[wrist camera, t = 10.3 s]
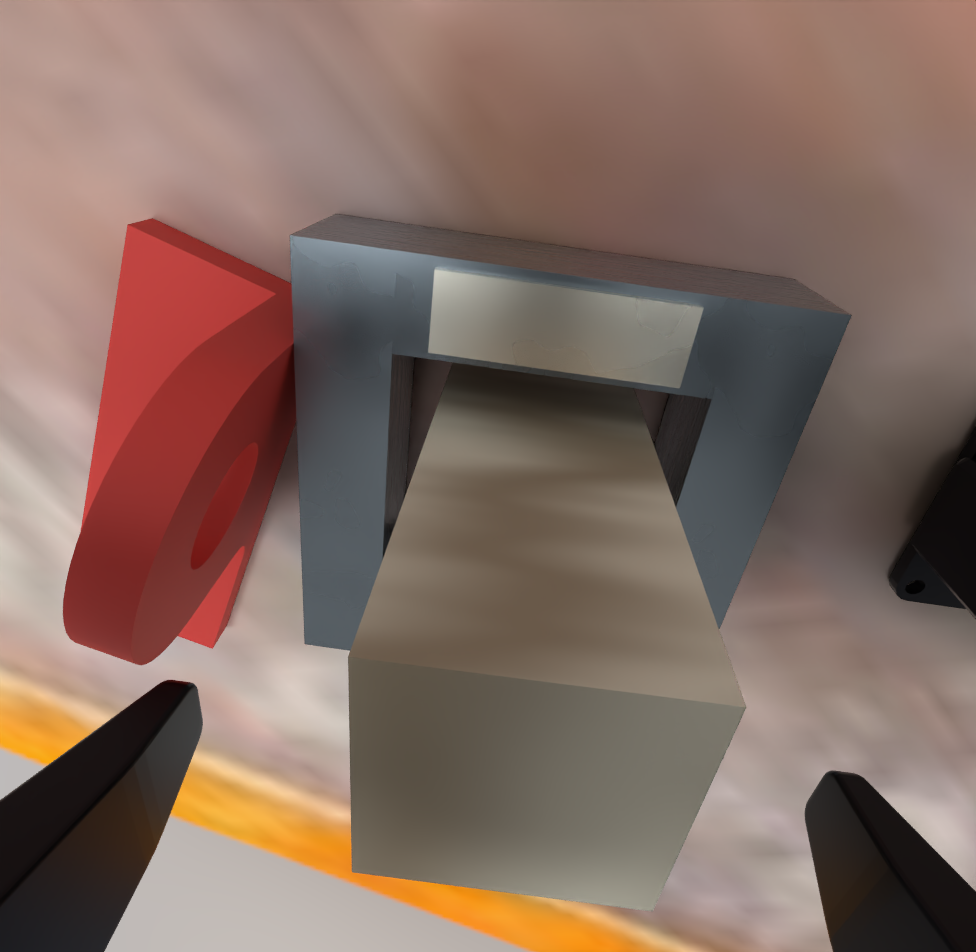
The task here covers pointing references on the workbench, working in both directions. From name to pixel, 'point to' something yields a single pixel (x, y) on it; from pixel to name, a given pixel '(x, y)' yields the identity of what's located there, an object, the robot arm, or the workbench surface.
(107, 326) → the workbench surface
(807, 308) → the plate
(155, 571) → the bracket
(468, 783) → the birch peg
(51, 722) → the workbench surface
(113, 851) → the robot arm
